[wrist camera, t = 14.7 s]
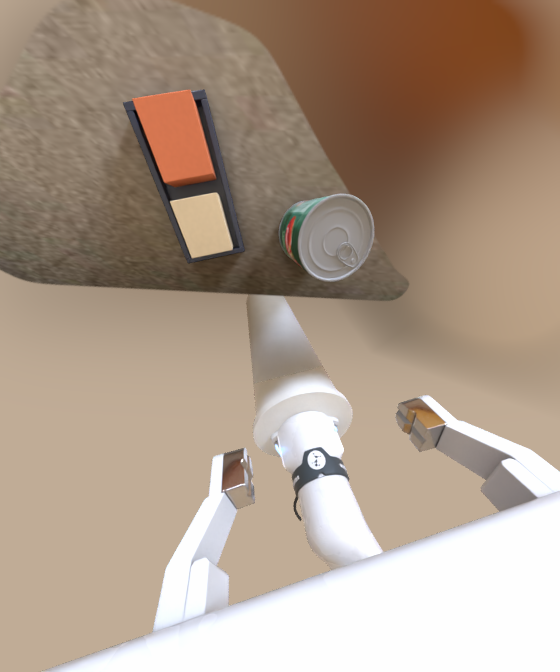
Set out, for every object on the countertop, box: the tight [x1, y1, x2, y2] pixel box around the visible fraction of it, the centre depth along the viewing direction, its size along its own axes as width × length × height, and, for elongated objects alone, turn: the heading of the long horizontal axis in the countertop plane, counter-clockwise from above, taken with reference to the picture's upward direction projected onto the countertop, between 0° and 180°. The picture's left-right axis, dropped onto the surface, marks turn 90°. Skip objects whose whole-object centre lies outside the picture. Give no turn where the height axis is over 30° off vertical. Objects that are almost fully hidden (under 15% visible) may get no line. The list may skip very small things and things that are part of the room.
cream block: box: [170, 193, 233, 258], centre depth 24 cm, size 6×5×4 cm
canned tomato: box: [279, 194, 374, 282], centre depth 24 cm, size 8×8×11 cm
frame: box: [123, 90, 244, 263], centre depth 24 cm, size 15×8×2 cm, turn 10°
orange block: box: [132, 90, 216, 187], centre depth 20 cm, size 6×5×4 cm
